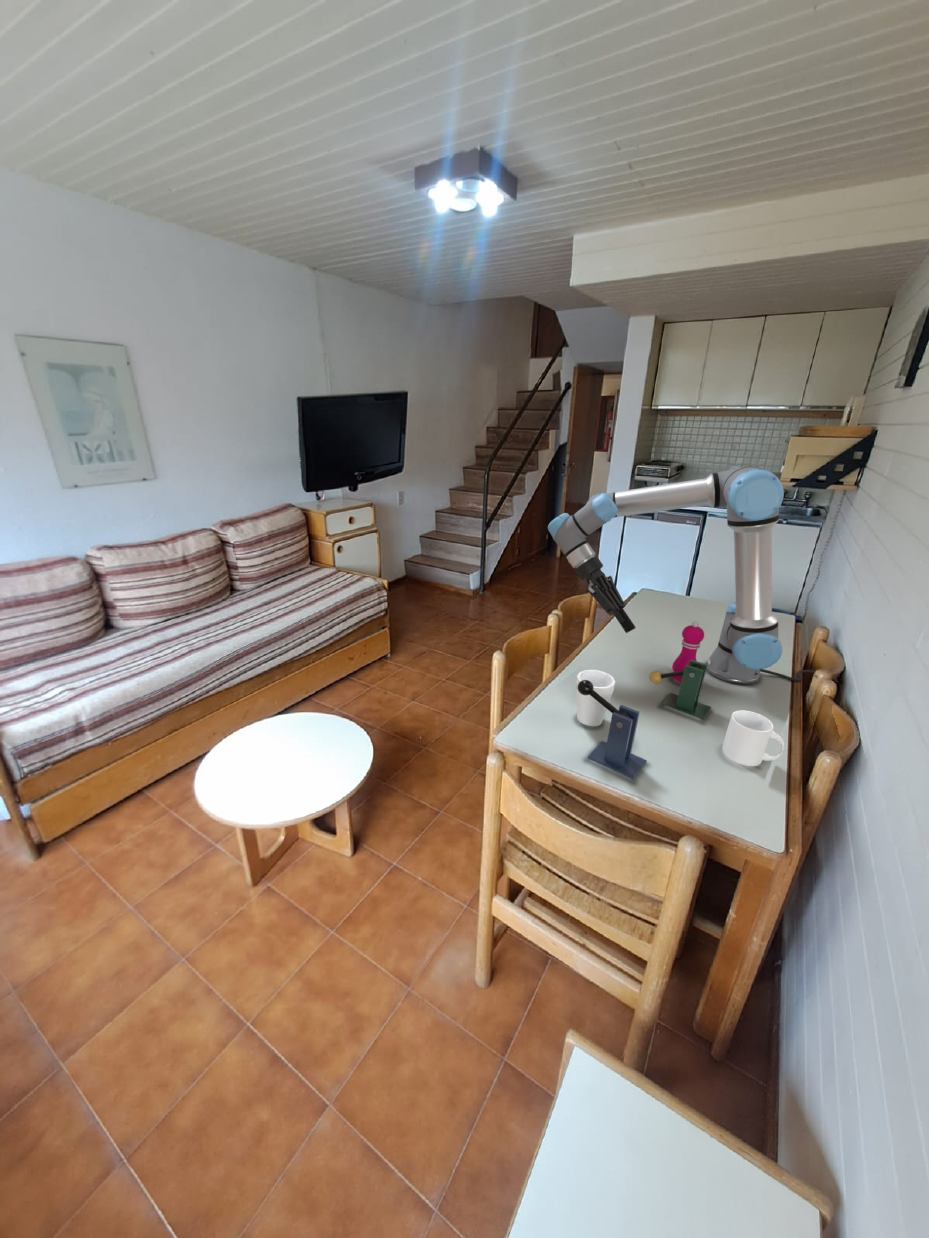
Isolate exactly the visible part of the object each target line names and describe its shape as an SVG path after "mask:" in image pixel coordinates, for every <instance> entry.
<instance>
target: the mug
mask: <svg viewBox="0 0 929 1238" xmlns="http://www.w3.org/2000/svg"><path fill="white" fill-rule="evenodd" d="M770 739H772V740H774V741H777V742H778V743H779V744H780V746H781V751H780V752H779V753H777V754H769V753H767V752H766V751H767V748H768V745H769V742H770ZM785 744H786V743H785V741H784V739H783V738H782V737H781V736H780V734H779V733H778V732H776V731H774V724H773V722H772V721H771V720H770V719H769V718H767V717H766V716H764V715H762V714H760V713H757V712H755V711H751V710H745V709H740V710H735V711H733V712H732V713H731V715H730V720H729V722H728V726H727V729H726V732H725V736H724V739H723V743H722V746H721V752H722V753H723V754H724V756H725V757H726V758H727V759H728V760H731V761H733V763H736V764H739V765H742V766H746V767H756V766H757V767H758V766H760V765H761V764H762V762H763V761H765V762H771V761H775V760H777V759H779V758H781V756H783V753H784V752H785V748H786V745H785Z"/></svg>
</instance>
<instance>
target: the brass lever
mask: <svg viewBox="0 0 929 1238" xmlns="http://www.w3.org/2000/svg"><path fill="white" fill-rule="evenodd" d="M692 667H695V668H698V669H701V667H700V665H696V666H692ZM683 673H684V671H678V672H674V671H672V672H667V673H662V672H661V671H659V670H653V671H651V672H650V673H649V676H648V679H649V681H650V682H651V683H652V684H656V685H658V684H660V683H662V682H663V680H664V679H669V678H672V677H676V676H682V675H683Z"/></svg>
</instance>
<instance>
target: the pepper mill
mask: <svg viewBox="0 0 929 1238" xmlns="http://www.w3.org/2000/svg"><path fill="white" fill-rule="evenodd" d="M699 625H700V623H699V622H698V621H696V620H695V621H692V623H691V625H687V626H685V627H684V628H683V629H682V632H681V636H682V640H681V646H682V647H681V651H680V652H679V654H678V656H677V657H676V659H674V661H673V663H672V666H671V669H672V672H678V671H684V669H685V666H686V665H689V661H690V660H694V661H697V662H698V660H697V652H698V650H699V649H700V648H701V642H702V641H703V640H704V638H705V632H704V629H703V628H702V627H701V626H699ZM682 677H683V675H682V676H676V677H671V678H672V679H673V680H675V681H676V682H679V683H681V681H682Z"/></svg>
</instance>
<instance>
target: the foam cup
mask: <svg viewBox="0 0 929 1238" xmlns="http://www.w3.org/2000/svg"><path fill="white" fill-rule="evenodd" d="M582 680H588V681H590V682H591V683H592V684H593V687H594V688H593V690H594V691H595V692H596V693H597V694H599V695H600V696H601V697H602V698H604V699H605V700H606V701H607V702H609V703H610V701H611V697H612V695H613V693H614V691H615V687H616V680H615V678H614V677H613V676H612V675H611V674H609V673H608V672H605V671H602V670H599V669H584V670H582V671H578V674H577V675H576V681H575V685H576V719H577V721H578V722H580V723H581V724H583V725H585V726H588V727H598V726H600V725H602V723H603V721H604V718H605V716H606V715H605V714H606V712H607V709H606V708H605V707H604V706H603V705H601V704H600V703H599V702H598V701H597V700H595V699H594V698H593V697H592V696H590V695H582V694H580V693H579V691H578V684H579V682H581V681H582Z"/></svg>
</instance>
